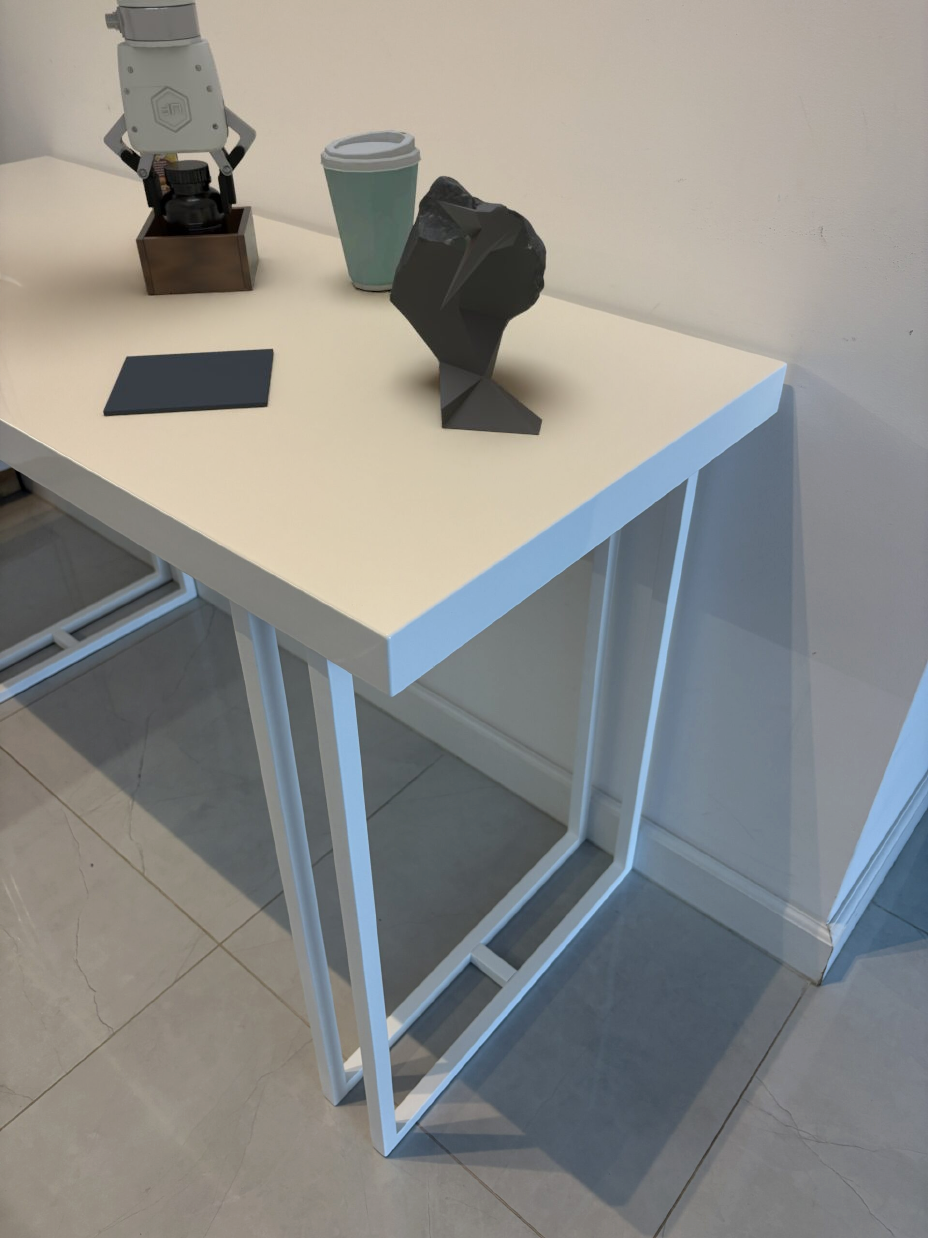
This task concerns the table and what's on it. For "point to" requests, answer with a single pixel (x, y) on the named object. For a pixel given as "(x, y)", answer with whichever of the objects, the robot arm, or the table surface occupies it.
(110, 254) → the table surface
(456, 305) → the dark grey faceted sculpture
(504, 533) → the table surface
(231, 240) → the box
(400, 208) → the disposable coffee cup
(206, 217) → the supplement bottle
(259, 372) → the mat
